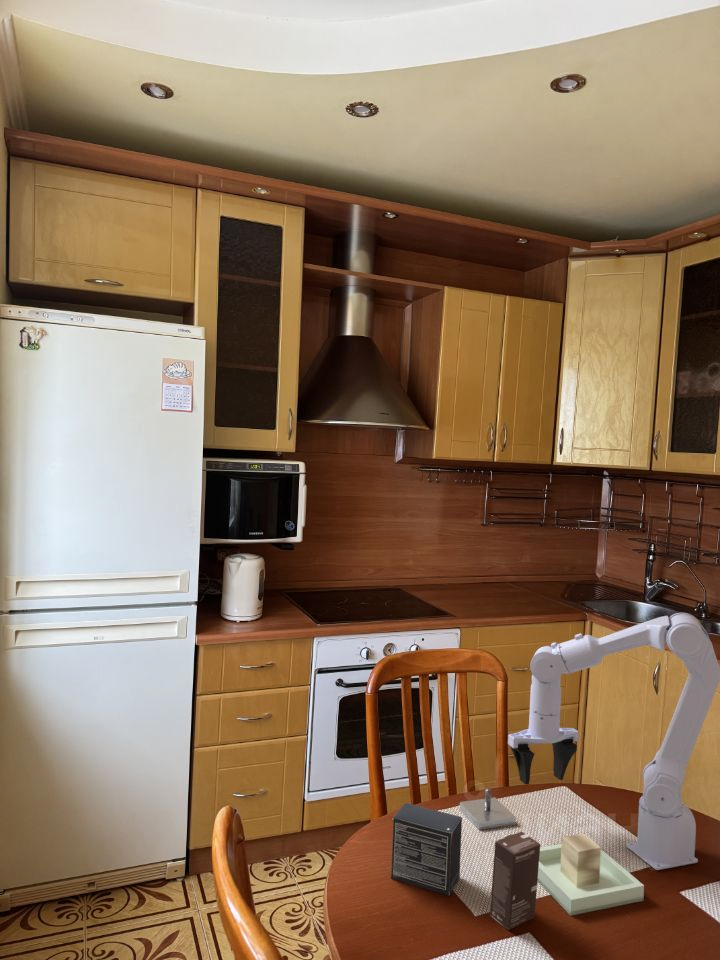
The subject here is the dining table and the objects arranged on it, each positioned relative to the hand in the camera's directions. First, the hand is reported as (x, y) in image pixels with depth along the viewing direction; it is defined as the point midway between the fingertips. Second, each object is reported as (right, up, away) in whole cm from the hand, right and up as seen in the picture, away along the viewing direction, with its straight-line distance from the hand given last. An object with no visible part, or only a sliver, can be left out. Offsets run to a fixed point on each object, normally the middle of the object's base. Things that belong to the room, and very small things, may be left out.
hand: (541, 779), depth 132 cm
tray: (+2, -10, -17) cm, 19 cm away
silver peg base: (-10, -9, +4) cm, 14 cm away
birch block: (+2, -9, -16) cm, 19 cm away
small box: (-24, -9, -17) cm, 31 cm away
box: (-11, -10, -26) cm, 30 cm away
